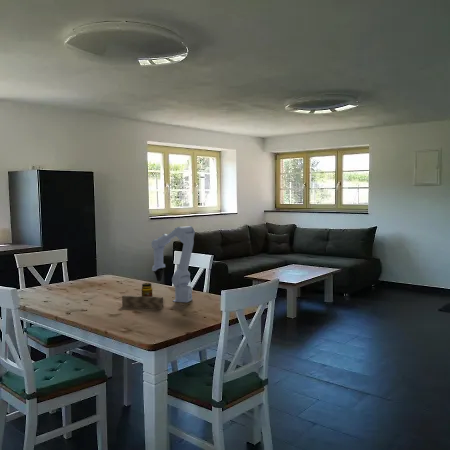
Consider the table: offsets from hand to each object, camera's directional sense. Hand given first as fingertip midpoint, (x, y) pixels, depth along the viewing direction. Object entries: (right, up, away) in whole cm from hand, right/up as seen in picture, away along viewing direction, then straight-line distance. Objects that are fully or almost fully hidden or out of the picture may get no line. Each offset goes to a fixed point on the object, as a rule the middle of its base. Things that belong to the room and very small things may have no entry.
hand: (159, 280), depth 272 cm
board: (-5, -11, -26) cm, 29 cm away
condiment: (-5, -11, -20) cm, 23 cm away
